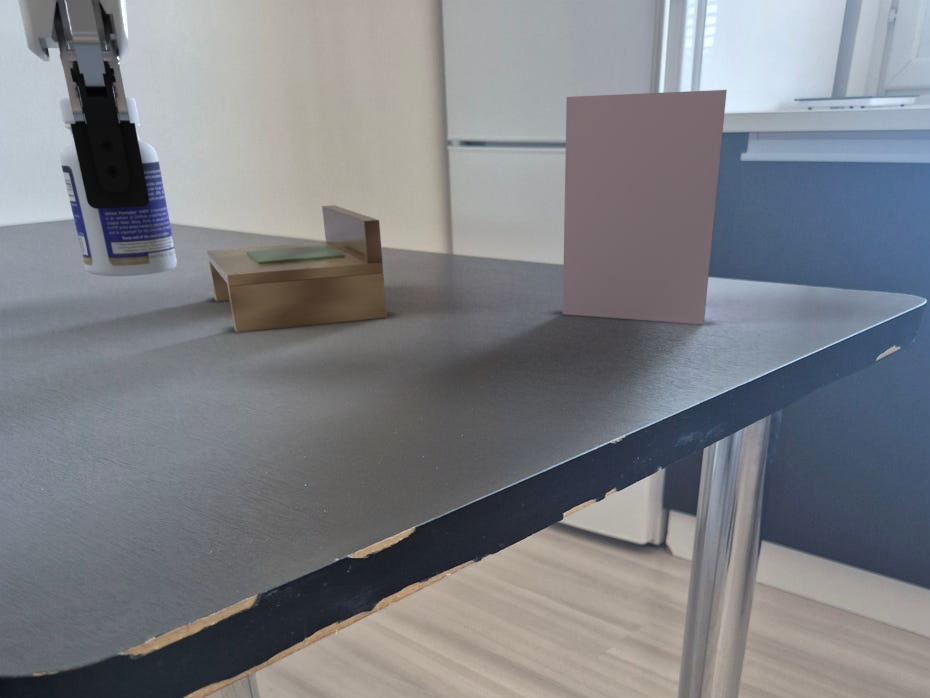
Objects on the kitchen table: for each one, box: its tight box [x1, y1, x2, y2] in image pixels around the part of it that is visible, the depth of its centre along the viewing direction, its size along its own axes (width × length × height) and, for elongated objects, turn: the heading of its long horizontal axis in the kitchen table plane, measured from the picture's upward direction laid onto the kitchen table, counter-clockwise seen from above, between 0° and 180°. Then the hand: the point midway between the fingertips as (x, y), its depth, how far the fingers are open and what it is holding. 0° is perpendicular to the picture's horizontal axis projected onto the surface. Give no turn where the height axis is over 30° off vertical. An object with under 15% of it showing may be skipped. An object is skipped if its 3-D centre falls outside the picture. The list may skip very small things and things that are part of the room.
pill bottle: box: [58, 96, 178, 277], centre depth 50 cm, size 5×5×9 cm
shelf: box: [206, 204, 388, 333], centre depth 74 cm, size 12×16×7 cm
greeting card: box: [562, 89, 728, 325], centre depth 64 cm, size 11×7×15 cm, turn 26°
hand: (118, 198), depth 51 cm, fingers closed on pill bottle, 5 cm apart
